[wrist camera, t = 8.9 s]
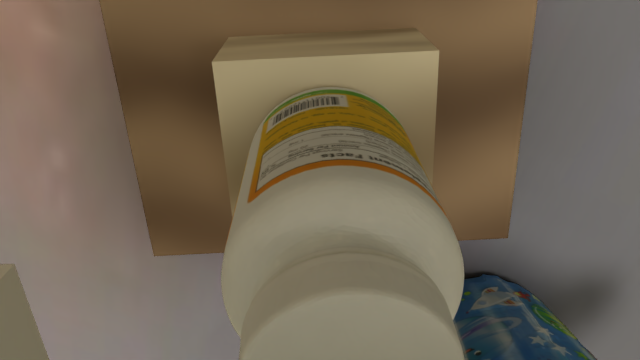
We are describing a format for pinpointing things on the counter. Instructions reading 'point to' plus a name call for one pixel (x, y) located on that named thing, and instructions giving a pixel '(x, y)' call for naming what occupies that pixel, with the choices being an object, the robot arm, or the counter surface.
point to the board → (314, 17)
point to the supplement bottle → (340, 239)
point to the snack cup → (511, 324)
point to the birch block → (324, 83)
